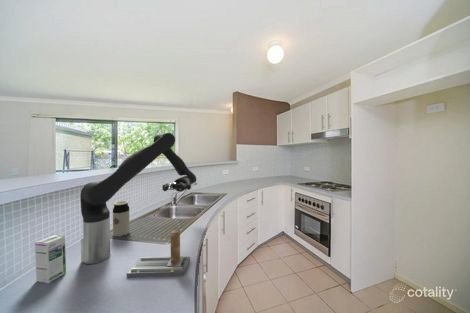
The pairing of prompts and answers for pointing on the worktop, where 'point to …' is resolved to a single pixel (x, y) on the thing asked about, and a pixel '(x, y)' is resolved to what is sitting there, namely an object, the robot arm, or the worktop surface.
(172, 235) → the fader tab
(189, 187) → the robot arm
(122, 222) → the labelled jar
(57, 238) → the syrup box
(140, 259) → the grey slider track base
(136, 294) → the worktop surface
